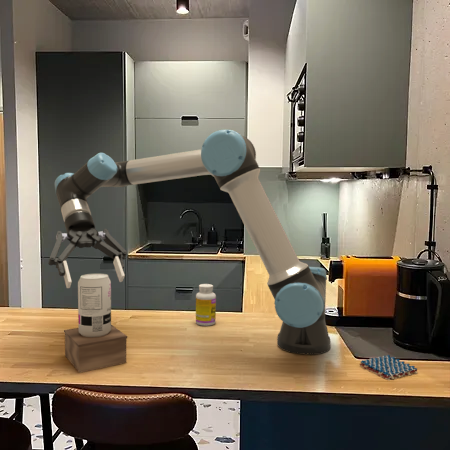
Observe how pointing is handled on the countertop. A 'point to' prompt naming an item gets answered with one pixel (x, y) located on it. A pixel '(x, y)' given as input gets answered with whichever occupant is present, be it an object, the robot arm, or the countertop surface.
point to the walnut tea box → (95, 349)
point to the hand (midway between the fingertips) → (96, 282)
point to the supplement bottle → (205, 305)
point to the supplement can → (94, 305)
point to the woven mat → (388, 367)
